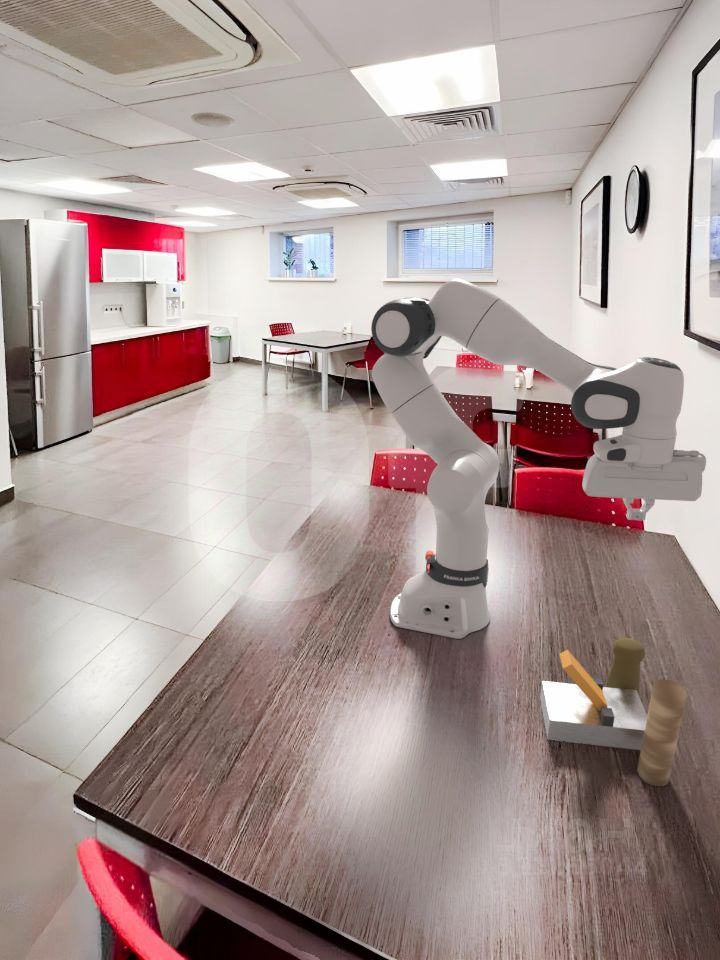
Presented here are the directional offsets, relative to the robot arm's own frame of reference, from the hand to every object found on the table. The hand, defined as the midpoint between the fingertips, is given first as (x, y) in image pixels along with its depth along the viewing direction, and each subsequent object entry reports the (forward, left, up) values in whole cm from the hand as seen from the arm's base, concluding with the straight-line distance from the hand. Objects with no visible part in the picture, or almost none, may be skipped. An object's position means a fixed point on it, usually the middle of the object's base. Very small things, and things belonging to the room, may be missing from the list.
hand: (635, 519), depth 111 cm
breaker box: (-9, -23, -29) cm, 38 cm away
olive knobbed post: (-2, -14, -29) cm, 32 cm away
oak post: (-2, -33, -29) cm, 44 cm away
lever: (-8, -23, -24) cm, 34 cm away
